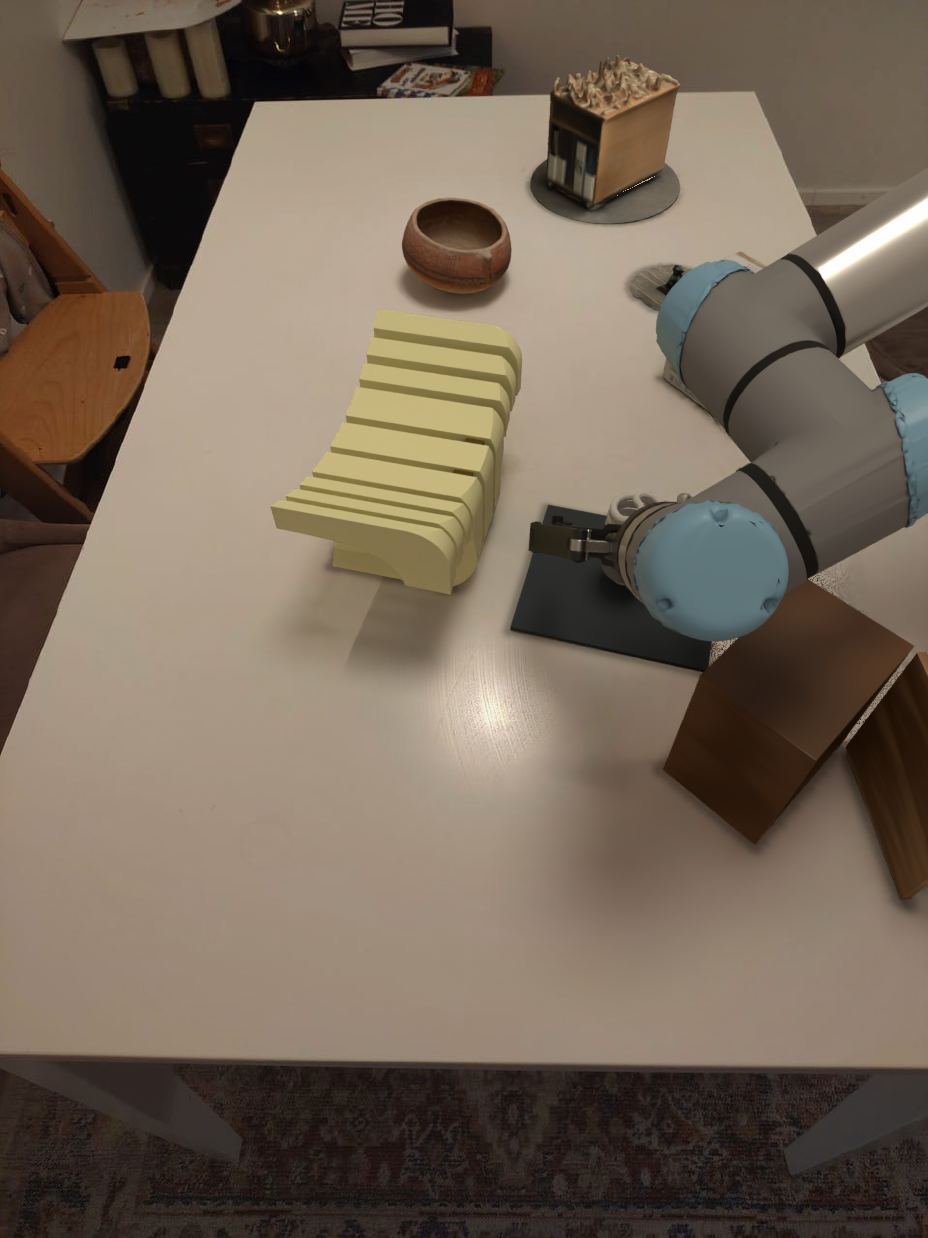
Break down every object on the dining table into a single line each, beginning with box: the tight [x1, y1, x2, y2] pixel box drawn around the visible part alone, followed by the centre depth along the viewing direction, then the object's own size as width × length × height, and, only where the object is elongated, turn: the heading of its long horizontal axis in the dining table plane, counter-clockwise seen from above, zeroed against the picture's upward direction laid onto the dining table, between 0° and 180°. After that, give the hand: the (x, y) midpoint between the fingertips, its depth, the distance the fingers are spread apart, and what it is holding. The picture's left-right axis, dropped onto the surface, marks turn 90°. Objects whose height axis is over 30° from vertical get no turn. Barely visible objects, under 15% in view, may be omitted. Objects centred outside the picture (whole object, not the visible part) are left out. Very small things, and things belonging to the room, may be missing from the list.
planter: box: [530, 54, 681, 224], centre depth 132 cm, size 25×25×19 cm
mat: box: [509, 504, 713, 673], centre depth 88 cm, size 20×18×1 cm
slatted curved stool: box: [269, 308, 523, 596], centre depth 86 cm, size 30×16×18 cm, turn 166°
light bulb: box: [601, 490, 663, 585], centre depth 83 cm, size 6×6×12 cm
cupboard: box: [662, 578, 915, 846], centre depth 69 cm, size 10×14×16 cm
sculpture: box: [629, 264, 693, 311], centre depth 121 cm, size 12×9×8 cm
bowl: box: [401, 197, 513, 295], centre depth 119 cm, size 16×16×10 cm
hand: (635, 539), depth 79 cm, fingers open, 13 cm apart
